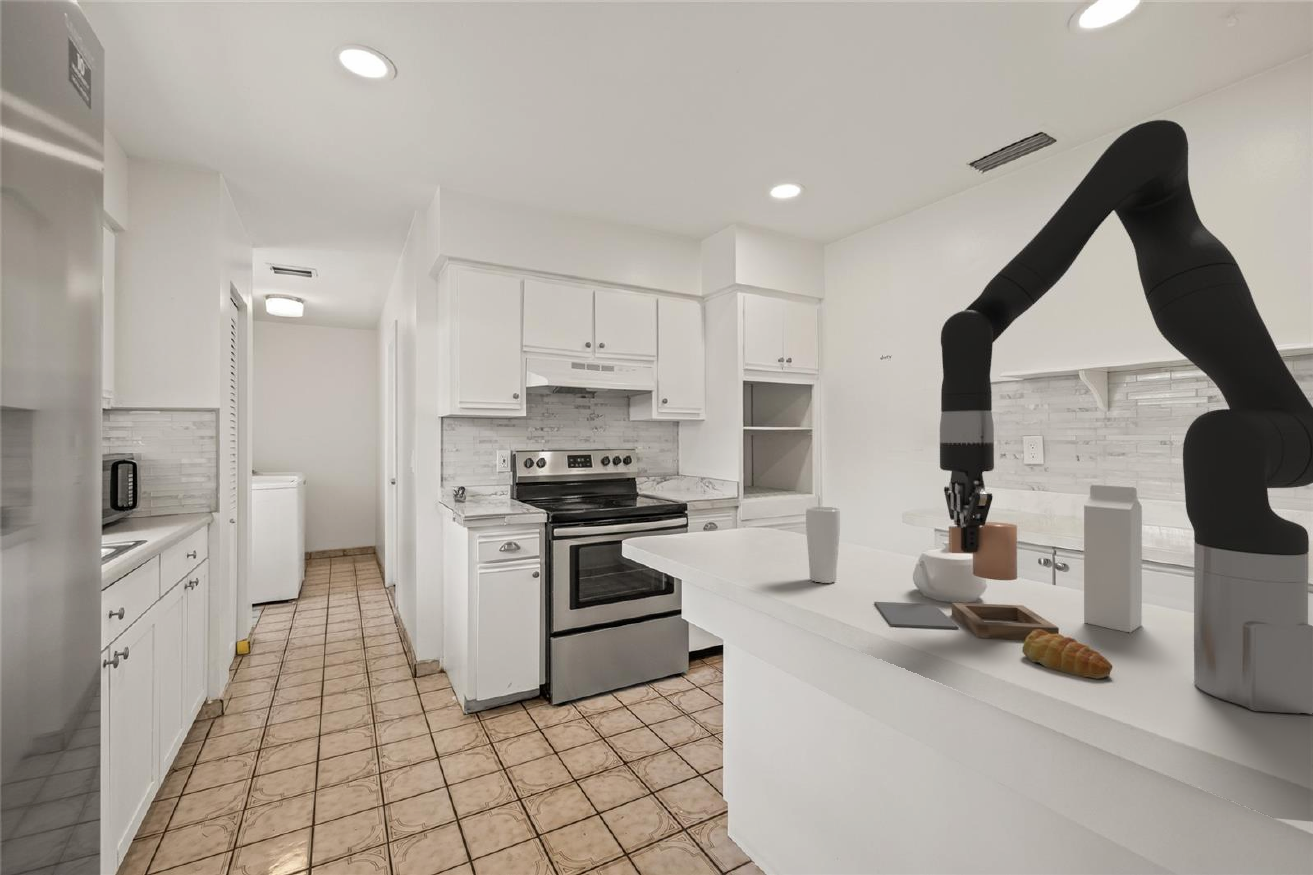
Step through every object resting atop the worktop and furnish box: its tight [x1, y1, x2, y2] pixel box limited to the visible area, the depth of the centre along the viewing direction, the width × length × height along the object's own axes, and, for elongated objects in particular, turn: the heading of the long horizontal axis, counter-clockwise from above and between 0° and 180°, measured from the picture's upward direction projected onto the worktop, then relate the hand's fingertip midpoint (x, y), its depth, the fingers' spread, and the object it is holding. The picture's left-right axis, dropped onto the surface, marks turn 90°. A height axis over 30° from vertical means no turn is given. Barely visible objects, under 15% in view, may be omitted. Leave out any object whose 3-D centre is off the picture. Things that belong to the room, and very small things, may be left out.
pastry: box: [1021, 629, 1113, 680], centre depth 75 cm, size 9×7×4 cm
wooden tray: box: [951, 602, 1060, 641], centre depth 90 cm, size 11×11×2 cm
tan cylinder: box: [948, 521, 1018, 581], centre depth 90 cm, size 10×6×8 cm, turn 82°
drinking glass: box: [805, 506, 841, 584], centre depth 119 cm, size 7×7×15 cm
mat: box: [874, 601, 960, 630], centre depth 96 cm, size 12×10×1 cm
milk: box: [1083, 484, 1143, 634], centre depth 91 cm, size 6×6×22 cm
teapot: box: [912, 540, 988, 603], centre depth 107 cm, size 20×12×10 cm, turn 126°
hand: (966, 550), depth 90 cm, fingers closed on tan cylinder, 1 cm apart
